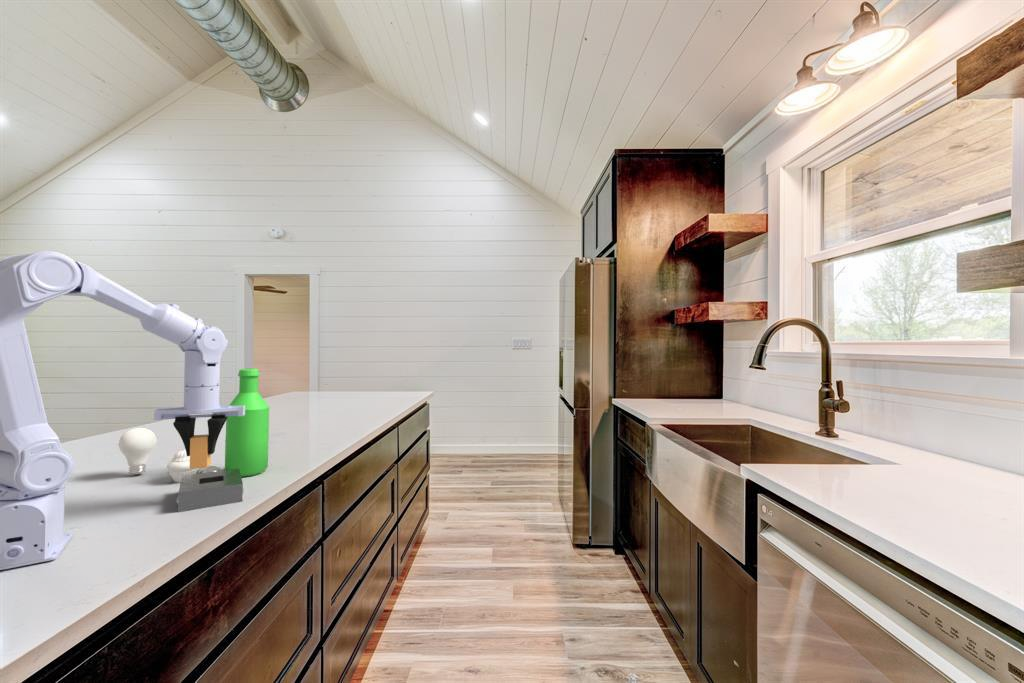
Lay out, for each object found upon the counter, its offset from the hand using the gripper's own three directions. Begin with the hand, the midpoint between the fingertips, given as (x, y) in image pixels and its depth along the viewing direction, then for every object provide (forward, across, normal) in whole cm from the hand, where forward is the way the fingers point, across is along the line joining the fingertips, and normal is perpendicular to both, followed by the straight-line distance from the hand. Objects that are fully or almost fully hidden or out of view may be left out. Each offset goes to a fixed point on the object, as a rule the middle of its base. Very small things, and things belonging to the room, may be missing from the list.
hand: (200, 453), depth 84 cm
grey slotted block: (+9, -1, -3) cm, 10 cm away
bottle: (+9, -5, -17) cm, 20 cm away
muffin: (+9, +7, -15) cm, 19 cm away
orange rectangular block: (+2, 0, 0) cm, 2 cm away
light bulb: (+9, +17, -23) cm, 31 cm away
